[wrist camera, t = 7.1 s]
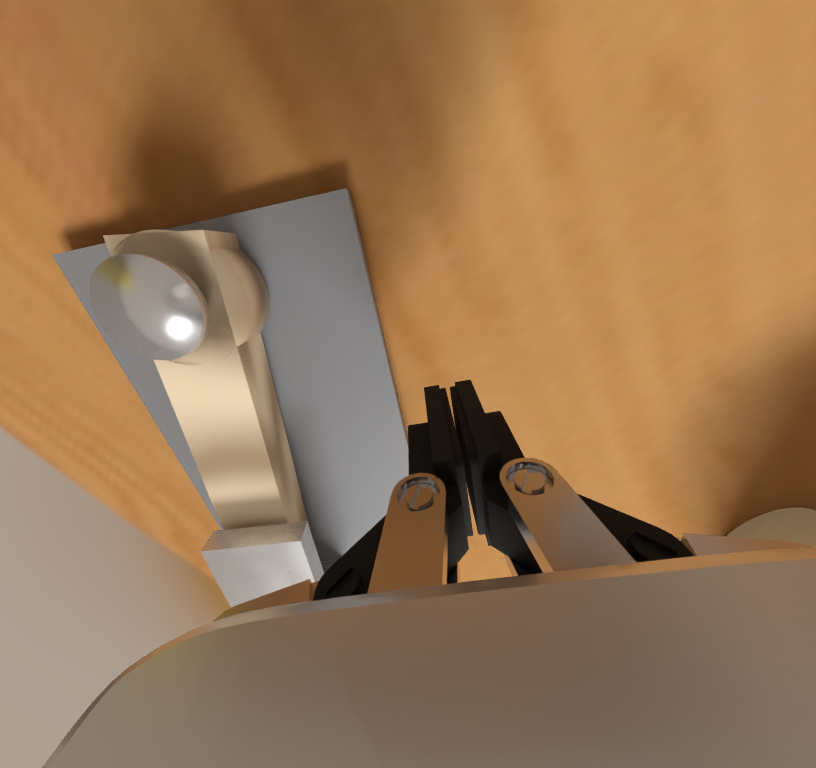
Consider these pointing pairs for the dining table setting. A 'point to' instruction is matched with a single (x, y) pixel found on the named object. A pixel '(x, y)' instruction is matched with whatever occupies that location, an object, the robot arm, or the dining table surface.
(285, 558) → the block
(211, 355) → the arm link
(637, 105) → the dining table surface
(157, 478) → the dining table surface
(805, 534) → the reusable coffee cup
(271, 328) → the base board
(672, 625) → the robot arm
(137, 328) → the pin cap
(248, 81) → the dining table surface
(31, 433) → the dining table surface
